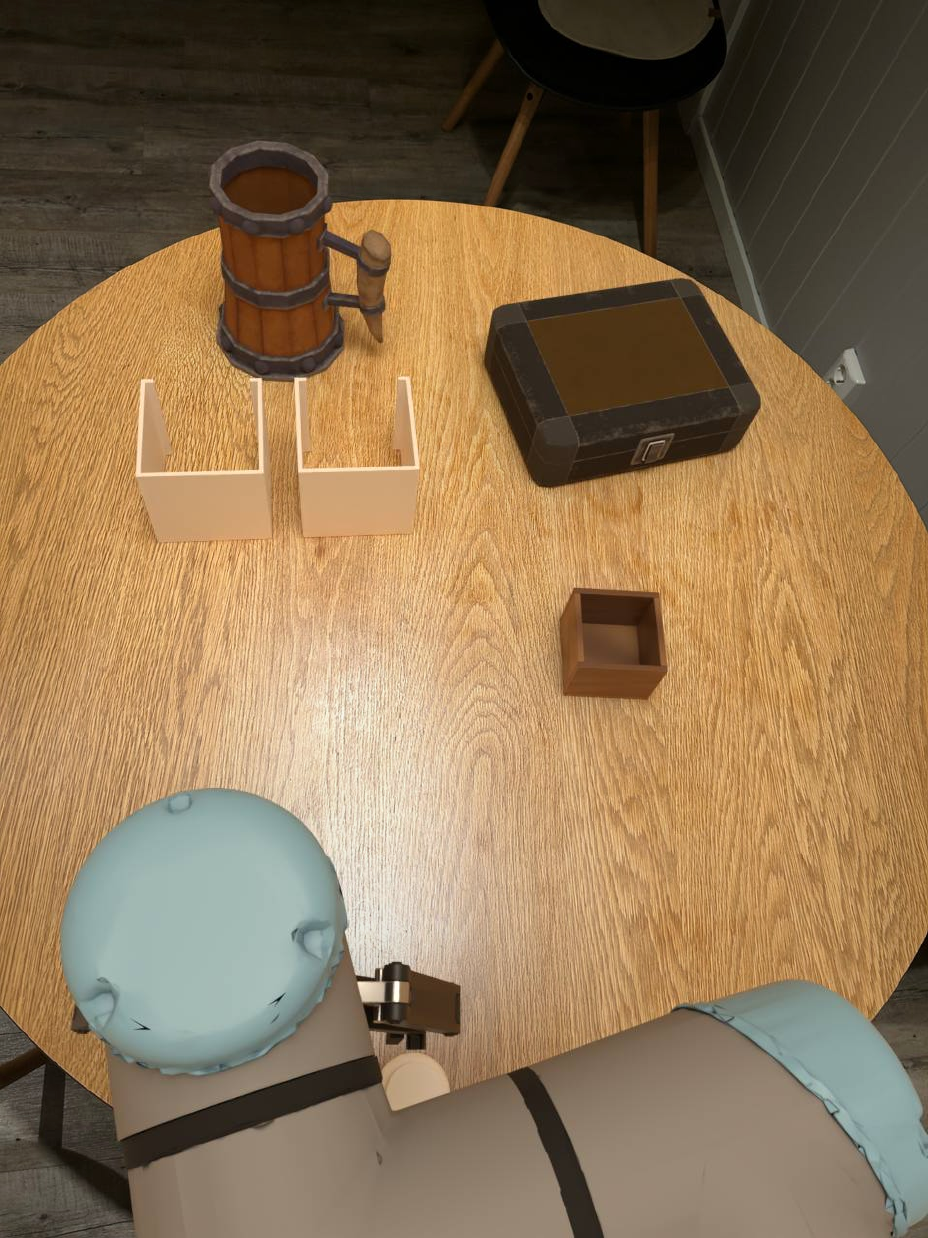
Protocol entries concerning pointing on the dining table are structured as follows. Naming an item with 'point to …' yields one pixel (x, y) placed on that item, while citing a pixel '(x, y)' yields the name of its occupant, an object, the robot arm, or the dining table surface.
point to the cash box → (617, 380)
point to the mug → (286, 264)
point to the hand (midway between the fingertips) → (280, 1019)
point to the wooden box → (612, 643)
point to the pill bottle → (413, 1080)
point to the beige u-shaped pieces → (244, 496)
